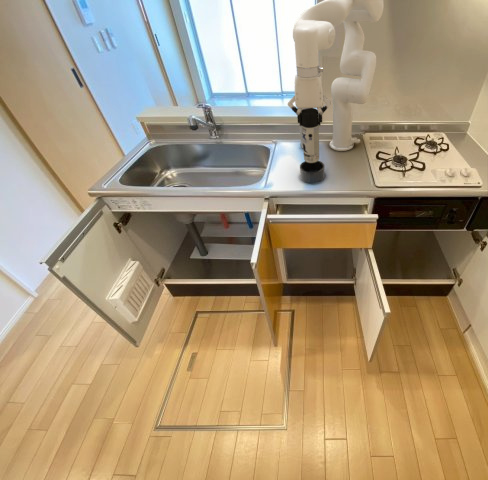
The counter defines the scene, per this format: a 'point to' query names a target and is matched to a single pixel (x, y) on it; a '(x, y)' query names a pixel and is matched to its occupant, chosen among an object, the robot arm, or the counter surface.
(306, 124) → the spray can
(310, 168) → the can holder
